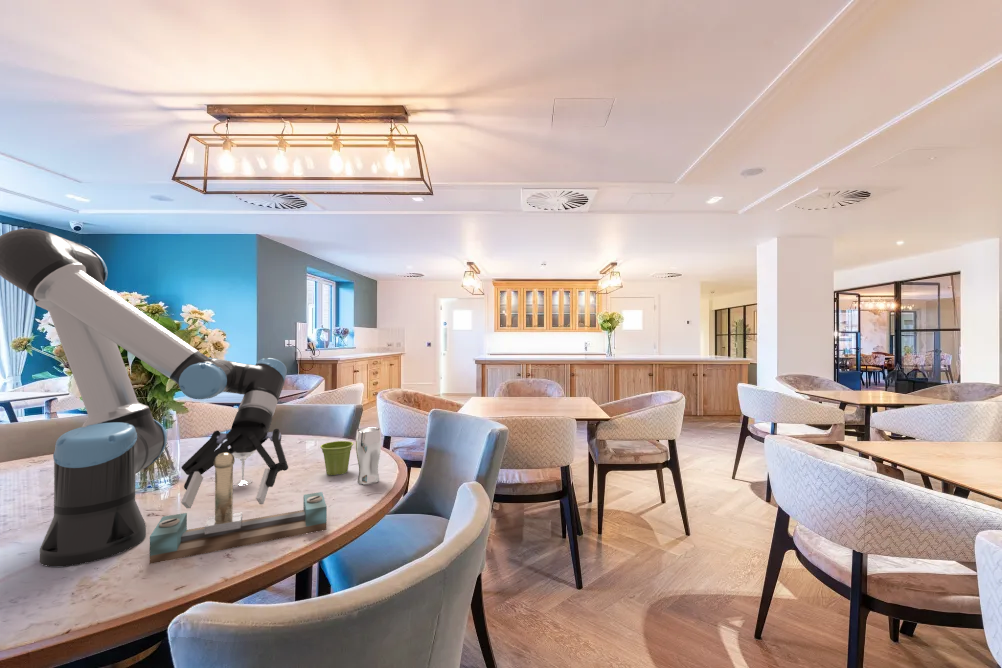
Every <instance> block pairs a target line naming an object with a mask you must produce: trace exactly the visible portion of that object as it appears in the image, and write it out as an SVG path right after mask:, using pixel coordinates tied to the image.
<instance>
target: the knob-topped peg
mask: <svg viewBox="0 0 1002 668" xmlns="http://www.w3.org/2000/svg"><path fill="white" fill-rule="evenodd" d="M235 459H236V458H235V457H234V456H233V455H232V454H231V453H228V452H223V453H220V454H219V455H217V456H216V457H215V459H214V466H213V467H214V469H215V470H214V474H215V475H214V479H215V480H214V482H215V483H214V516H209V517H208V518H207V519H206V522H205V525H204V527H205V534H210V533H216V532H221V531H227V530H233V529H238V528H241V523H242V520H243V511H241V512H234V511H233V506H234V505H233V503H234V501H233V499H234V497H233V496H234V493H233V491H234V489H233V488H234V487H233V486H234V485H233V483H234V482H233V481H234V464H235ZM233 512H234V513H233Z"/></svg>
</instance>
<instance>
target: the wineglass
mask: <svg viewBox="0 0 1002 668" xmlns="http://www.w3.org/2000/svg"><path fill="white" fill-rule="evenodd" d="M230 448H231V446H230V445H229V449H230ZM256 452H257V450H256V449H255V450H254V451H252V452H241V453H236V452H234V453H232V455H233V456H234V458H235V459H238V460H239V461H240V462H241V477H242V478H241V479H240V480H238V481H234V482H233V484H234V485H233V486H236V485H239V486H244V485H243V484H246V485H248V484H247V483H250V482H252V479H245V464H246V463H245V462H246V460H247V459H248V458H250V457H251V456H253V454H254V453H256ZM252 483H253V482H252ZM250 484H251V483H250Z"/></svg>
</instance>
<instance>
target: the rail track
mask: <svg viewBox="0 0 1002 668" xmlns="http://www.w3.org/2000/svg"><path fill="white" fill-rule="evenodd" d="M327 507H328V506H327V503H326V500H325V496H324V494H323V491H318V492H314V493H313V492H311V493H306V494H303V509H302V510H296V511H289V512H283V513H278V514H273V515H267V516H261V517H254V518H248V519H242V523H241V528H238V529H233V530H227V531H221V532H216V533H210V534H205V526H202V527H195V528H190V529H188V527H187V525H188V516H187V515H188V513H187V512H185V513H184V512H183V513H179V514H177V513H176V514H170V515H165V516H162V517H161V519H160V520H159V522H158V523H157V525H156V526H155V528H154V529H153V531H152V533H150V536H149V559H148V560H149V565H154V564H157V563H158V564H159V563H163V562H169V561H173V560H179V559H184V558H189V557H195V556H199V555H204V554H209V553H215V552H219V551H220V552H221V551H224V550H230V549H234V548H235V549H236V548H241V547H246V546H251V545H256V544H261V543H266V542H267V543H268V542H271V541H276V540H281V539H287V538H292V537H297V536H301V535H302V534H303V535H307V534H306V533H308V534H312V533H311V532H313V533H317V532H316V531H318V532H323V531H326V530H327V529H328V528H327V525H328V524H327V522H328V521H327ZM322 530H323V531H322Z"/></svg>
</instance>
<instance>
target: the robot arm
mask: <svg viewBox="0 0 1002 668" xmlns="http://www.w3.org/2000/svg"><path fill="white" fill-rule="evenodd" d="M108 273H109V272H108V267H107V264H106V262H105V260H103V258H102V257H101V256H100V255H99V254H98V253H97V252H96V251H94V250H92V248H90V247H88V246H86V245H85V244H83V243H80V242H77V241H73V240H70V239H67V238H64V237H61V236H59V235H56V234H54V233H53V232H48V231H45V230H41V229H36V228H19V229H15V230H14V229H13V230H10V231H7V232H5V233H3V234H2V235H0V277H2V279H4V280H5V281H7V282H9V283H10V284H12V285H13V286H15V287H17V288H18V289H20V290H21V291H23V292H25V293H26V294H28V295H29V296H31V297H32V298H33V301H34V304H35V306H37V307H40V308H41V309H43V310H46V311H48V312H49V315H50V317H51V321H52V322H53V327H54V328H55V332H56V333H57V336H58V339H59V341H60V344H61V347H62V350H63V352H64V355H65V357H66V360H67V362H68V365H69V368H70V370H71V373H72V376H73V378H74V380H75V384H76V387H77V388H78V391H79V394H80V397H81V399H82V403H83V405H84V408H85V411H86V413H87V418H86V419H85V421H84V422H83V424H82V426H80V427H76V428H74V429H71V430H69V431H66V432H64V433H63V434H62V435H60V436H59V437H58V438H57V439H56V441H55V445H54V447H55V448H54V452H53V455H52V456H53V459H52V460H53V469H54V470H53V482H54V483H53V484H54V485H53V516H52V517H53V518H52V520H51V522H50V525H49V527H48V529H47V531H46V534H45V536H44V538H43V541H42V543H41V546H40V548H39V563H40V564H41V565H42V564H43V565H42V566H44V565H47V566H46V567H50V566H63V567H69V566H79V565H82V564H89V563H92V562H96V561H100V560H104V559H107V558H110V557H113V556H116V555H119V554H121V553H124V552H125V551H127V550H128V551H129V550H130V549H132V548H134V547H136V546H137V545H138V544H141V542H143V541H144V539H145V538H146V536H147V525H146V522H145V519H144V518H143V516H142V513H141V510H140V507H139V506H138V503H137V501H136V474H138V473H140V472H141V471H142V470H145V469H147V468H148V467H149V466H151V465H152V464H154V463H155V462H156V461H157V460H158V459H159V458H160V456H161V455H162V454H163V452H164V451H165V449H166V446H167V443H168V436H167V430H166V428H165V427H164V426H163V425H162V423H161V422H159V421H158V420H156V419H154V417H153V415H152V411H151V409H150V407H149V405H146V404H143V403H140V402H139V401H138V399H137V396H136V392H135V390H134V386H133V385H132V382H131V379H130V376H129V374H128V370H127V369H126V365H125V362H124V360H123V357H122V354H121V352H120V348H119V347H121V348H122V349H123V350H125V351H127V352H129V353H130V354H131V355H133V356H135V357H136V358H138V359H139V360H140V361H142V362H144V363H145V364H147V365H148V366H150V367H151V368H153V369H155V370H156V371H157V372H159V373H161V374H162V375H164V376H165V377H166V378H169V379H170V380H171V381H173V382H174V383H175V384H176V385H178V387H179V389H180V391H181V392H182V393H183V394H184V396H186V397H188V398H190V399H193V400H207V399H212V398H215V397H217V396H218V395H220V394H222V393H228V394H229V393H230V394H238V395H243V396H242V400H241V401H240V404H239V406H238V410H237V412H236V414H235V417H234V420H233V421H232V425H231V429H230V430H229V432H227V433H225V432H220V430H214V431H213V433H212V435H211V436H210V438H209V439H208V440H207V441H206V442H205V443H204V444H203V445H202V446H201V447H200V448H199V449H198V450H197V451H196V452H195V453H194V454H193V455H191V457H190V458H188V460H186V461H185V463H183V464H182V466H181V470H182V471H183V472H184V473H185V474H186V475H188V476H187V478H186V481H185V483H184V485H183V487H184V490H185V492H184V495H183V497H182V499H181V501H180V503H181V504H182V505H183V507H184V508H186V509H191V508H192V506H193V504H194V501H195V499H196V496H197V493H198V491H199V490H200V487H201V484H202V481H203V480H204V477H203V474H204V473H206V472H207V471H208V470H209V469H211V468H212V467H214V459H215V457H216V456H217V455H219V454H220V453H223V452H228V453H231V454H232V453H234V452H236V453H241V452H252V451H254V450H255V449H256V452H257V453H258V454H259V456H260V457H261V458H262V459H263V461H264V462H265V463H266V465H267V468H264V470H263V474H262V477H261V480H260V484H259V487H258V491H257V494H256V496H255V500H256V502H258V504H259V505H265V500H266V496H267V495H268V491H269V488H273V486H274V485H275V483H276V482H275V481H276V479H277V476H278V473H279V472H281V471H287V470H288V469H289V465H288V463H287V459H286V456H285V455H286V454H285V453H284V452H285V451H284V449H283V445H282V443H281V442H282V433H281V431H280V429H279V428H275V429H273V431H269V430H270V428H271V425H272V421H273V417H274V415H275V411H276V408H277V405H278V403H279V399H280V397H281V394H282V391H283V387H284V385H285V381H286V377H287V373H288V370H287V366H286V365H285V363H284V362H282V361H281V360H280V359H277V358H272V357H268V358H261V359H259V360H258V361H257V362H256V364H249V363H241V362H235V361H231V360H226V359H220V358H218V357H208V356H206V355H205V354H203V353H202V352H200V351H199V350H198V349H196V348H195V347H193V346H192V345H190V344H189V343H188V342H186V341H185V340H183V339H182V338H181V337H179V336H178V335H176V334H175V333H173V332H172V331H170V330H168V329H167V328H166V327H164V326H163V325H161V324H160V323H158V322H157V321H155V320H154V319H153V318H151V317H150V316H148V315H147V314H146V313H144V312H143V311H141V310H140V309H139V308H137V307H135V306H134V305H132V303H129V302H128V301H126V300H125V299H124V298H122V297H121V296H119V295H118V294H117V293H115V292H114V291H112V290H110V289H109V288H108V287H106V285H105V283H106V282H107V279H108ZM268 439H269V441H270V442H272V444H273V446H274V450H275V453H276V456H277V460H278V462H275V461H274V460H273V458H272V457H271V456H270V454H269V453H268V452H267V450H266V449H265V447H264V446H263V444H264V443H265V442H266V441H267V440H268ZM230 446H231V448H230Z"/></svg>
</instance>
